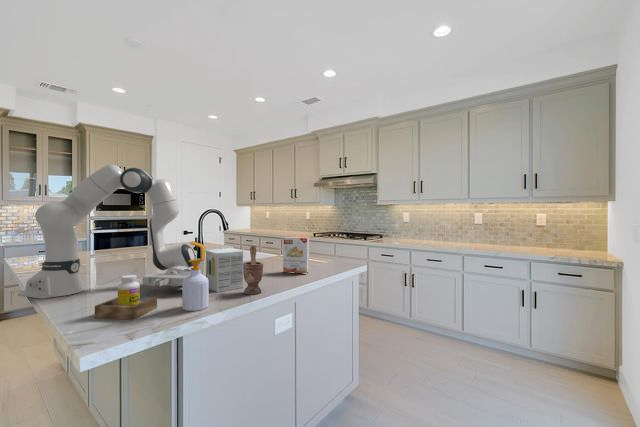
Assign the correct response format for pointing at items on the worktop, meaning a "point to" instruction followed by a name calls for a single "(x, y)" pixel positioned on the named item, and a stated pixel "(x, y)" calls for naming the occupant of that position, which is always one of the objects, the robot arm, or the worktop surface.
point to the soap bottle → (195, 286)
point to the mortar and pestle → (252, 273)
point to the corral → (124, 309)
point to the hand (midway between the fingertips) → (156, 283)
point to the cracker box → (296, 254)
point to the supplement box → (224, 269)
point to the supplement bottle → (128, 291)
